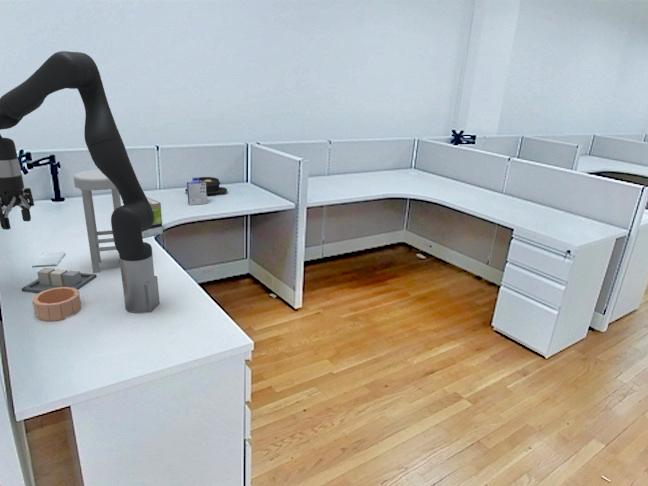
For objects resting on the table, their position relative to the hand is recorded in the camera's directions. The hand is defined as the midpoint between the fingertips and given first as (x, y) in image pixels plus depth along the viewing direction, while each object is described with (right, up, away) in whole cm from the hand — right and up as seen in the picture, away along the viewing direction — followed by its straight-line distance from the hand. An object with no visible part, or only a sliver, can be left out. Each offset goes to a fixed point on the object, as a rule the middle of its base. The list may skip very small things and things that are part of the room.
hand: (17, 224), depth 141 cm
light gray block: (+12, -20, +10) cm, 25 cm away
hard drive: (-7, -13, +29) cm, 33 cm away
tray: (+7, -20, +11) cm, 24 cm away
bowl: (+16, -26, -5) cm, 31 cm away
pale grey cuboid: (+3, -19, +11) cm, 22 cm away
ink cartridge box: (+25, +16, +111) cm, 115 cm away
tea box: (+15, -1, +64) cm, 66 cm away
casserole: (+24, +25, +134) cm, 138 cm away
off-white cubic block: (+7, -19, +11) cm, 23 cm away
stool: (+17, -15, +27) cm, 35 cm away
